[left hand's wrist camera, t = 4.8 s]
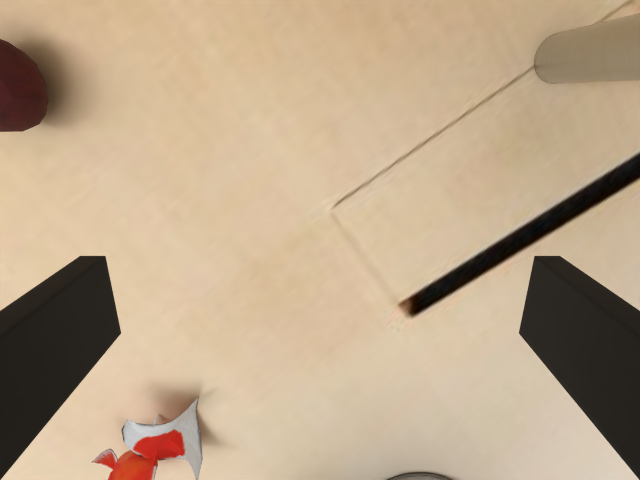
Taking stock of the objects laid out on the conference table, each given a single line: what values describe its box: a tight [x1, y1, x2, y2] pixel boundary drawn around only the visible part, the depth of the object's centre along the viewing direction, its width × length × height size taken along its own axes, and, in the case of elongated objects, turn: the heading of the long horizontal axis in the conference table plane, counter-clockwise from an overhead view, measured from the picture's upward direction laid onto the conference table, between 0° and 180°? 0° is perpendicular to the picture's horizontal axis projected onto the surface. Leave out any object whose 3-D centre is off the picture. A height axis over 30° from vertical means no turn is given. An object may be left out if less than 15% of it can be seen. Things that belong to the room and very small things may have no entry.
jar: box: [534, 13, 640, 83], centre depth 28 cm, size 4×4×16 cm
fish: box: [92, 397, 202, 480], centre depth 46 cm, size 11×16×10 cm
